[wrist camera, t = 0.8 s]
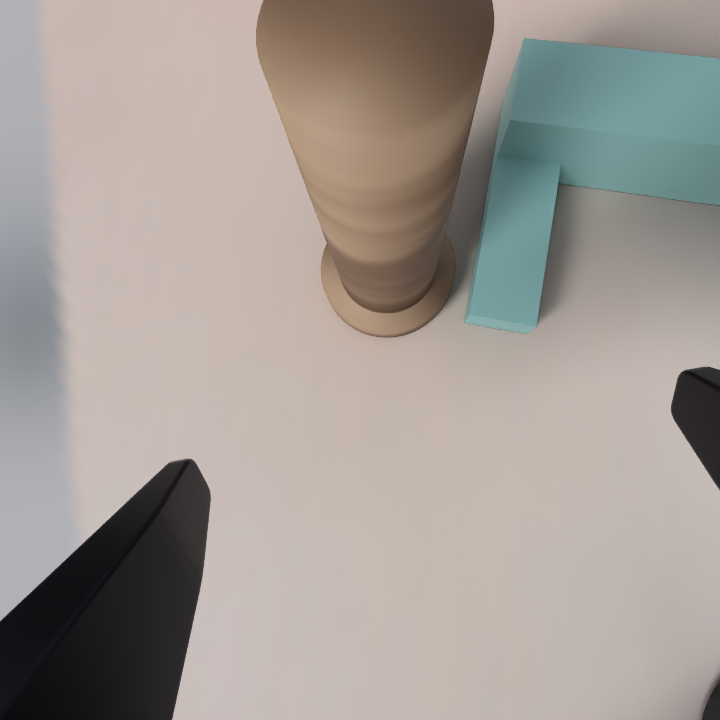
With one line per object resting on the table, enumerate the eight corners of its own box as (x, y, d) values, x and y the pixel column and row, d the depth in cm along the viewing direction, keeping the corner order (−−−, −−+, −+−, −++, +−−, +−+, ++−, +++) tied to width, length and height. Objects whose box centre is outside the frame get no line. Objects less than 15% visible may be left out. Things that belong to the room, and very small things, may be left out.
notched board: (821, 386, 20) (927, 375, 16) (464, 322, 22) (479, 298, 18) (835, 144, 21) (934, 80, 18) (502, 104, 23) (524, 38, 19)
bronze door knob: (422, 357, 21) (467, 226, 8) (304, 308, 22) (157, 113, 9) (471, 241, 22) (592, -67, 8) (355, 199, 23) (293, -143, 9)
